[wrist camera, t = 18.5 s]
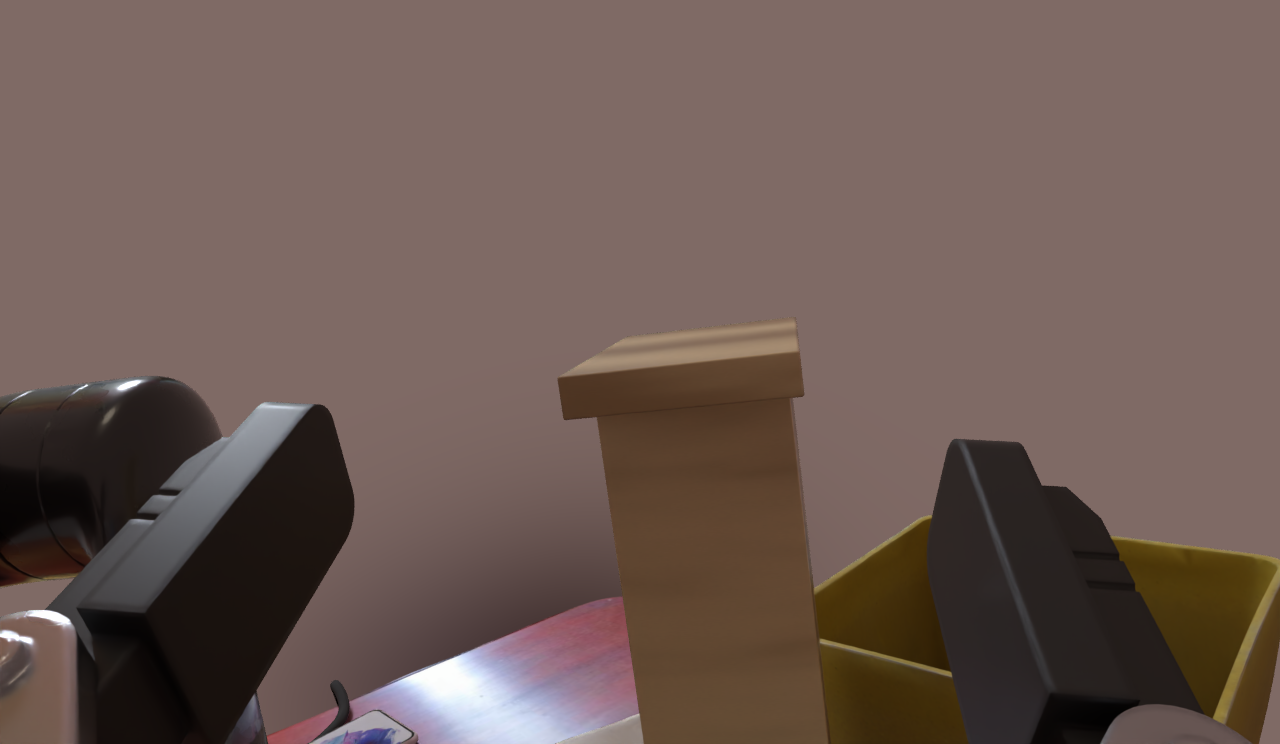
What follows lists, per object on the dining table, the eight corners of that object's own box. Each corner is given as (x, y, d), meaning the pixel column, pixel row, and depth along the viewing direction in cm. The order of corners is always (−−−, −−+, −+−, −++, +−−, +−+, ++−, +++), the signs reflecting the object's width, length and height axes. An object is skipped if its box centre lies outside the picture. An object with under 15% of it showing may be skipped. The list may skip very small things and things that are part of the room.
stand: (708, 932, 43) (626, 336, 39) (863, 937, 41) (795, 316, 37) (678, 1190, 31) (556, 376, 27) (892, 1210, 30) (799, 350, 25)
